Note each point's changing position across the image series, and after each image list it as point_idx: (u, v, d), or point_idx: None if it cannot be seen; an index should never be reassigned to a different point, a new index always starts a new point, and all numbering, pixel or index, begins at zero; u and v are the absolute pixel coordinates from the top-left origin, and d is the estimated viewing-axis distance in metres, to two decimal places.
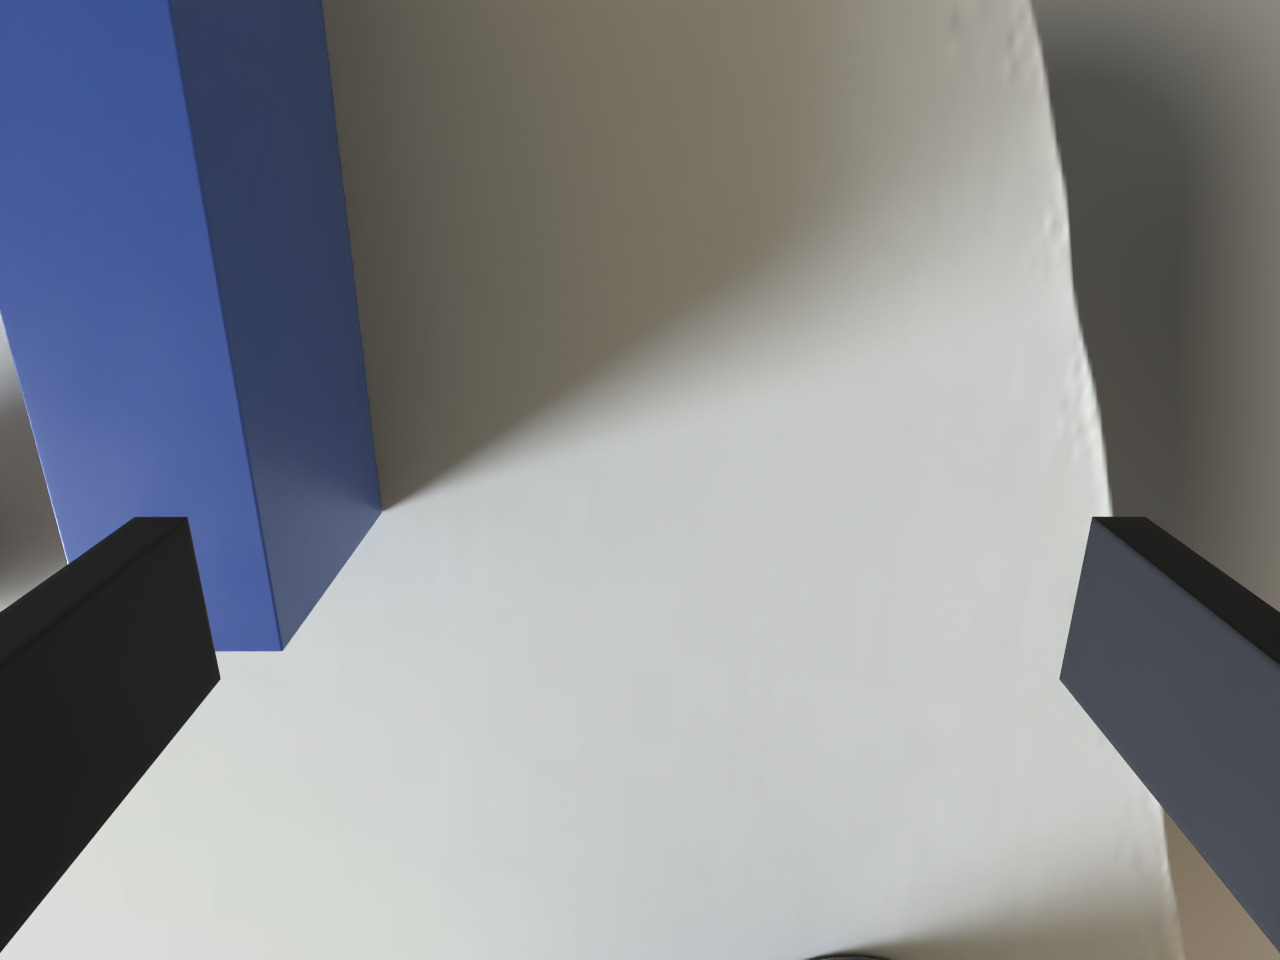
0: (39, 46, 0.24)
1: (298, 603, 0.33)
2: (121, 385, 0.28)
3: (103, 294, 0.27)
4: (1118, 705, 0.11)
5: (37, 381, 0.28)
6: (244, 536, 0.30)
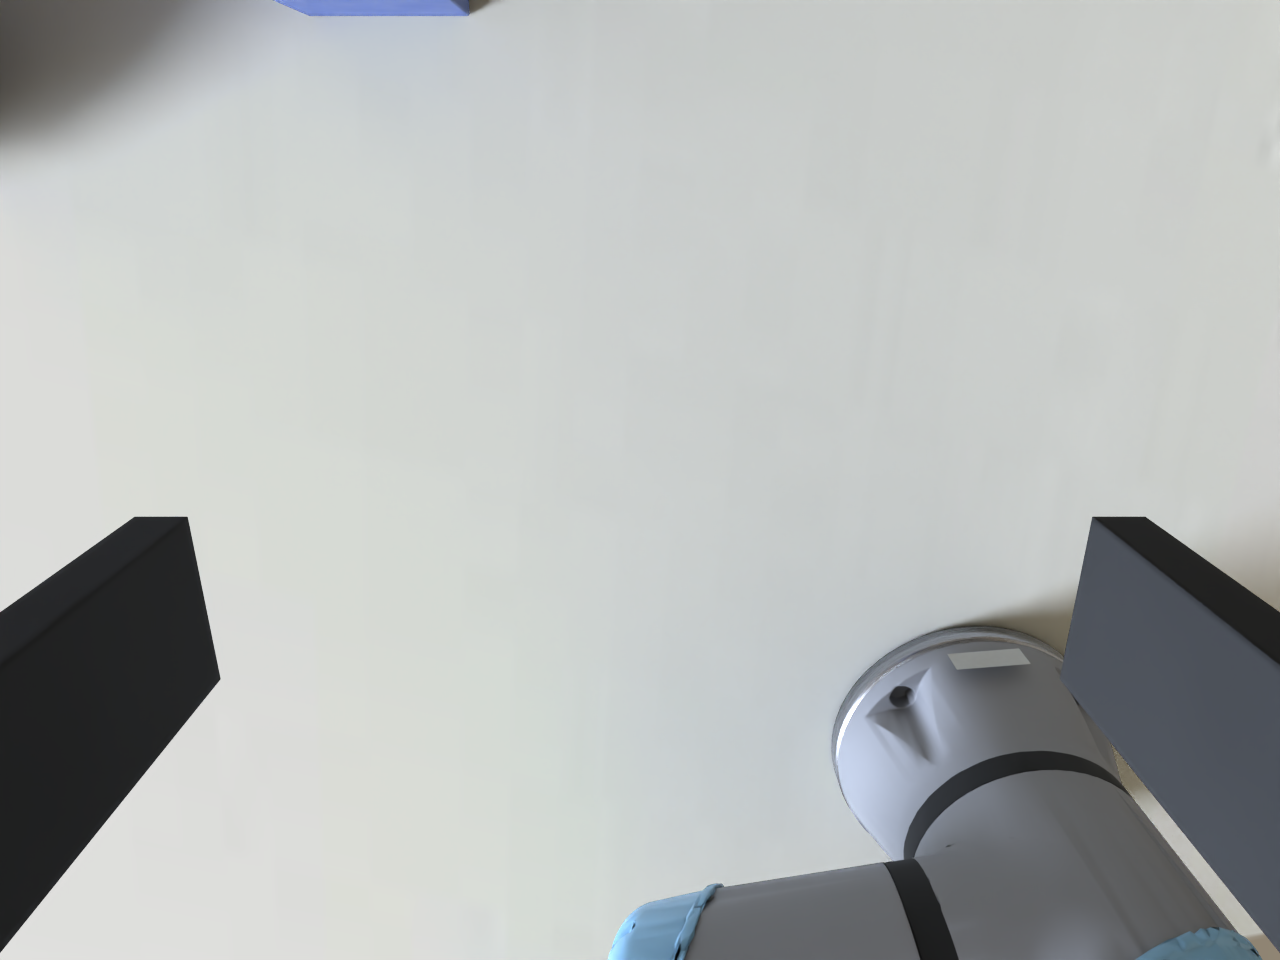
0: None
1: None
2: None
3: None
4: (1118, 705, 0.11)
5: None
6: None
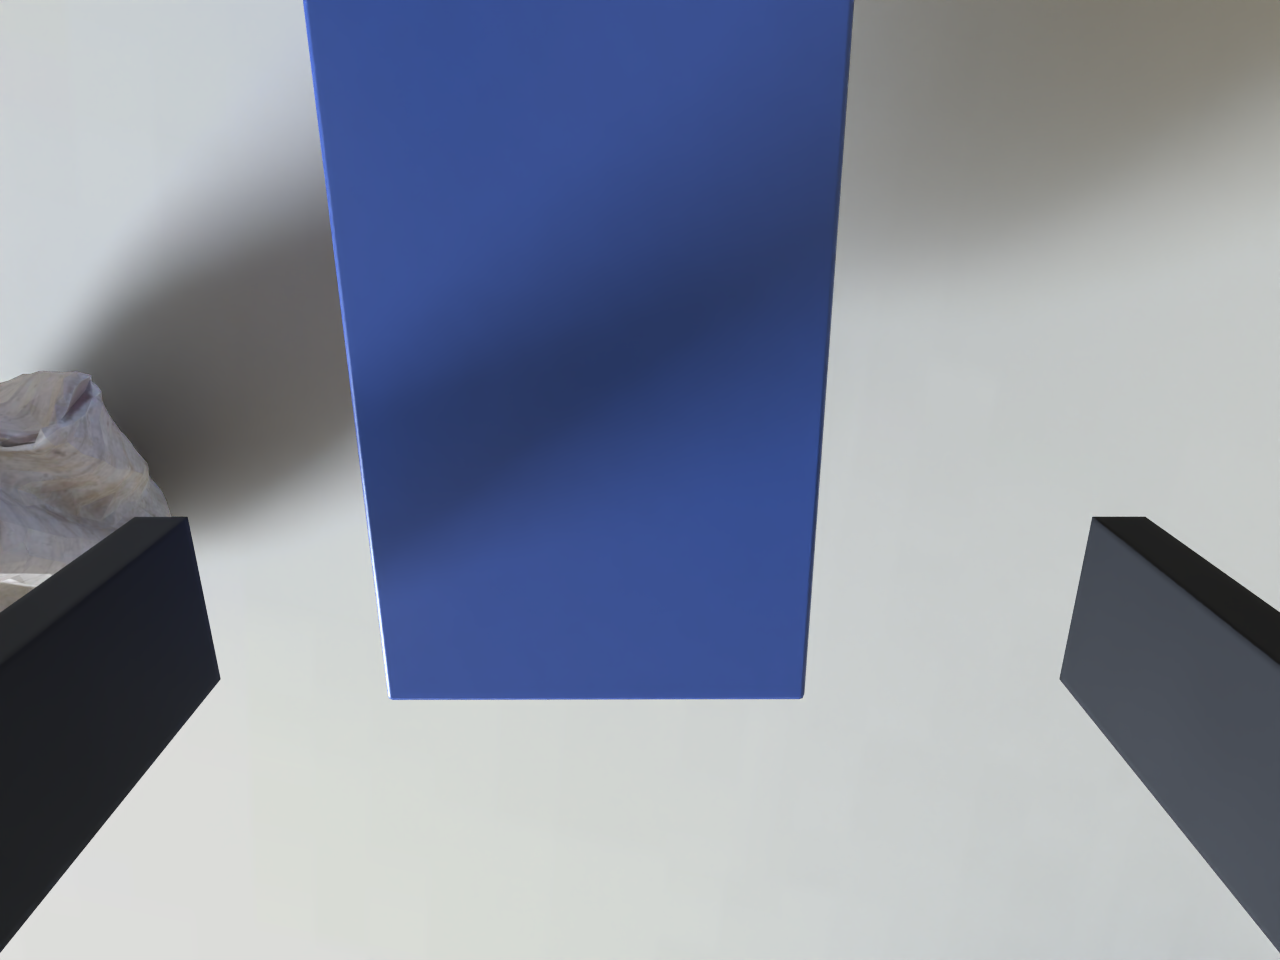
0: None
1: None
2: (562, 39, 0.11)
3: None
4: (1118, 705, 0.11)
5: (354, 29, 0.11)
6: (781, 438, 0.13)
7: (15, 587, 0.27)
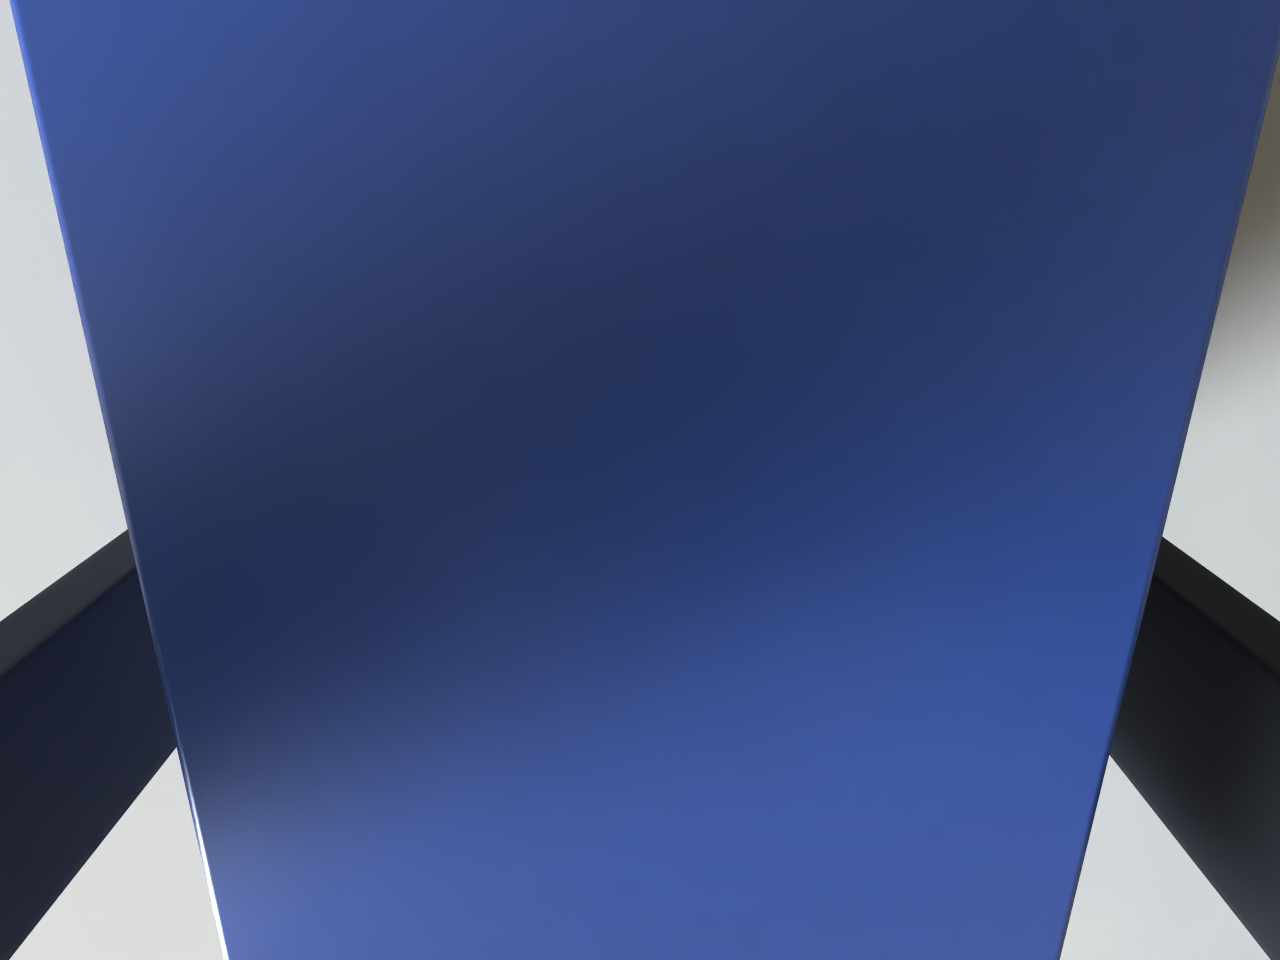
0: None
1: None
2: (611, 63, 0.05)
3: None
4: None
5: (126, 31, 0.05)
6: (1015, 831, 0.07)
7: None
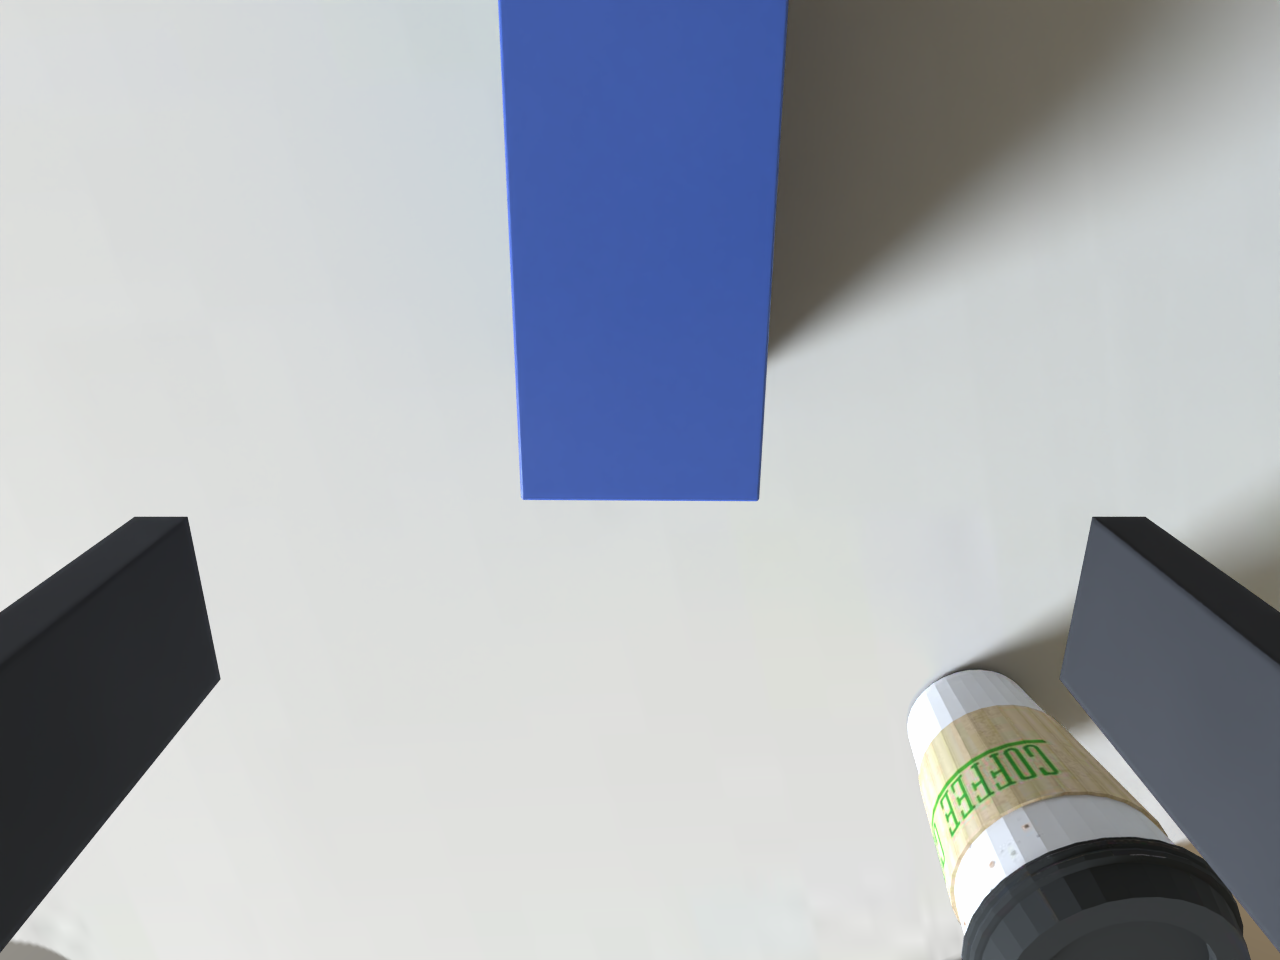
0: None
1: None
2: (633, 137, 0.22)
3: (638, 7, 0.21)
4: (1118, 705, 0.11)
5: (529, 130, 0.22)
6: (745, 347, 0.24)
7: None
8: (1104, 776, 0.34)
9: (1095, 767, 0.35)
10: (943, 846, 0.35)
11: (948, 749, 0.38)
